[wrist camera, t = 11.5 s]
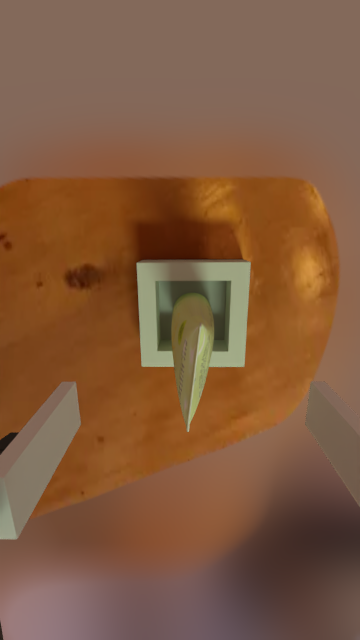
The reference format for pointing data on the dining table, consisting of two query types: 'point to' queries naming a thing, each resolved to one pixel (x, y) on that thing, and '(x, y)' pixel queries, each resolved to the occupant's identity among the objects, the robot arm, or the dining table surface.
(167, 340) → the socket block
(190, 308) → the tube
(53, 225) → the dining table surface
